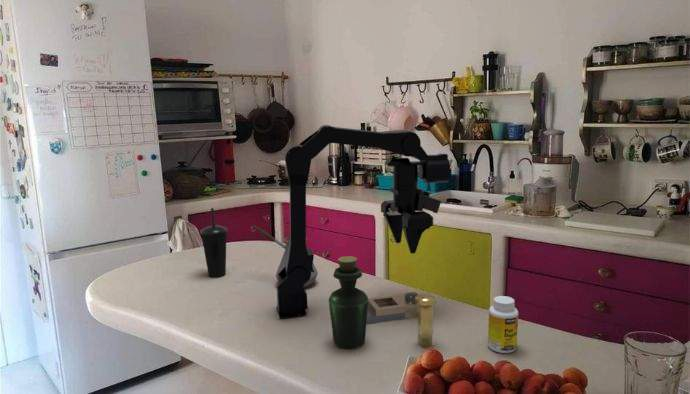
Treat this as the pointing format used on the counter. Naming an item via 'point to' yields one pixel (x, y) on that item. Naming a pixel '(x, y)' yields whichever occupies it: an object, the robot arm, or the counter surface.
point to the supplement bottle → (503, 325)
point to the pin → (425, 319)
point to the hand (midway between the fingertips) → (405, 247)
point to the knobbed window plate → (392, 307)
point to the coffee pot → (283, 260)
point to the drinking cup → (215, 248)
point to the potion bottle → (348, 306)
